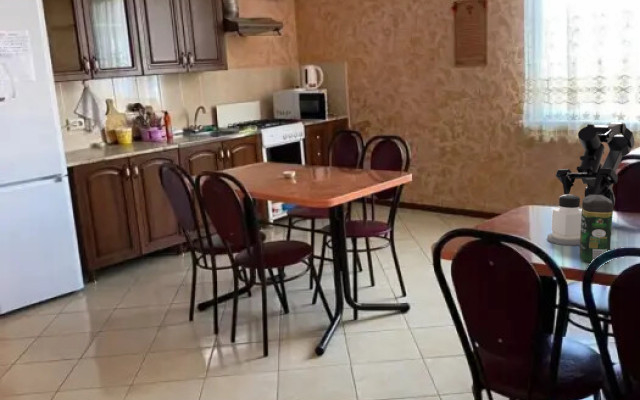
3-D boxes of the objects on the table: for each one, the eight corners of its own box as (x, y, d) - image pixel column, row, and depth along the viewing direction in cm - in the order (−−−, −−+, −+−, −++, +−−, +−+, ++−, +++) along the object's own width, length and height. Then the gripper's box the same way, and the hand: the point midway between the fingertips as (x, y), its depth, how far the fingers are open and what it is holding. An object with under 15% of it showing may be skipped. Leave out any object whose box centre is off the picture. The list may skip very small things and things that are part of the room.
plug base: (557, 233, 207) (557, 226, 206) (593, 239, 199) (594, 232, 198) (540, 241, 199) (540, 233, 198) (577, 247, 190) (578, 240, 190)
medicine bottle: (584, 234, 196) (587, 196, 193) (564, 236, 194) (566, 198, 192) (570, 228, 203) (572, 192, 200) (551, 230, 201) (552, 194, 198)
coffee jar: (577, 253, 185) (580, 192, 181) (606, 255, 183) (610, 193, 179) (580, 263, 176) (584, 199, 172) (611, 265, 174) (616, 200, 170)
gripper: (629, 170, 205) (618, 211, 200) (575, 171, 219) (563, 210, 214) (616, 151, 198) (603, 193, 193) (561, 154, 213) (548, 193, 208)
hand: (579, 198), depth 202 cm, fingers open, 9 cm apart
